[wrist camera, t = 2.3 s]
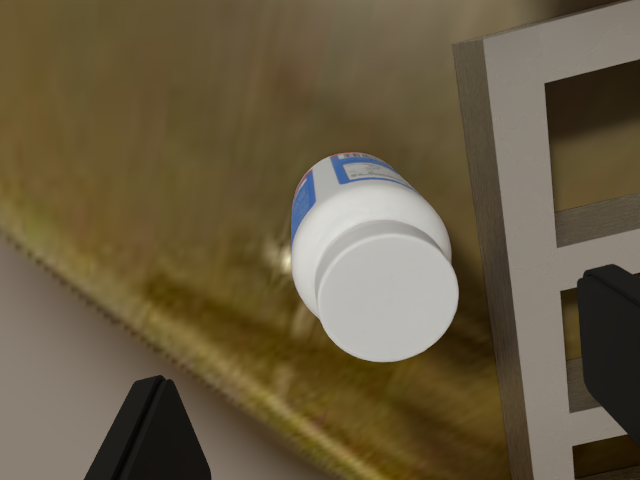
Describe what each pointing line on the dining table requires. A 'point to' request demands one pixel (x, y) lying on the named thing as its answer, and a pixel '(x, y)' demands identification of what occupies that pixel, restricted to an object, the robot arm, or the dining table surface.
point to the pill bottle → (371, 258)
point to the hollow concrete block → (541, 227)
